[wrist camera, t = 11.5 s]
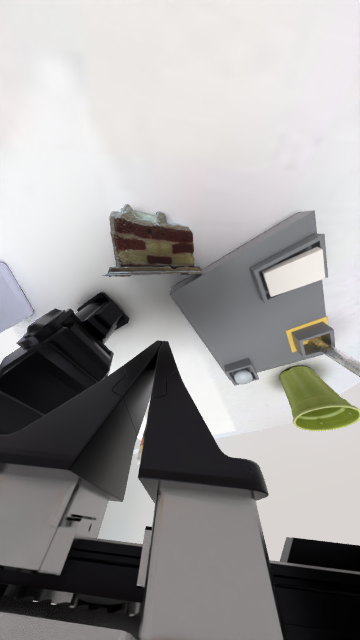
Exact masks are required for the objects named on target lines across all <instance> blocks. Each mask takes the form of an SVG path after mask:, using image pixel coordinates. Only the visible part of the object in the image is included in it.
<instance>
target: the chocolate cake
mask: <svg viewBox="0 0 360 640" xmlns="http://www.w3.org/2000/svg"><path fill="white" fill-rule="evenodd" d="M110 226H111V232H110V233H111V236H112V242H113V247H114V255H115V260H116V267H110V268H109V271H108V274H106V275H103V276H109V277H110V276H116V277H117V276H121V277H124V276H131V275H152V274H179V273H180V274H193V273H197V274H199V273H201V274H202V272H201V271H200V268H199V267H194V258H193V256H192V254H193V251H194V249H193V234H192V232H191V231H190V230H189V228H188V227H187V226H182V225H179V224H172V225H170V224H167V223H166V217H165V214H164V213H161V212H157V213H156V215H155V216H152V215H150V214H146V213H141V212H137V211H133V210H132V207H131V206H130V205H128V204H126V205H125V206H124V208H121V213H120V212H118V211H113V212H111V215H110Z"/></svg>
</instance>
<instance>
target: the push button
mask: <svg viewBox="0 0 360 640" xmlns="http://www.w3.org/2000/svg"><path fill="white" fill-rule="evenodd" d="M233 375H234V379H235V382H236V383H238V384H247V383H250V382H251V381H252V379H253V377H252V375H251V372H250V370H248V369H246V368H244V369H240V370H237V371H234V373H233Z"/></svg>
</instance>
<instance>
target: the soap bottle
mask: <svg viewBox="0 0 360 640" xmlns="http://www.w3.org/2000/svg"><path fill="white" fill-rule="evenodd" d="M33 313H34V312H33V309H32V307H31V305H30V304H29V302H28V300H27V299H26V297H25V295H24V294H23V292H22V290H21V288H20V287H19V285H18V283H17V282H16V280H15V278H14V277H13V275H12V273H11V272H10V270H9V268H8V267H7V266H6V265H5V264H4V263H0V333H1V332H3V331H5V330H6V329H8V328H10V327H12V326H13V325H15V324H17V323H19V322H20V321H22V320H24V319H26V318H28V317H29V316H31V315H32V314H33Z"/></svg>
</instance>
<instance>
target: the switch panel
mask: <svg viewBox="0 0 360 640" xmlns="http://www.w3.org/2000/svg"><path fill="white" fill-rule="evenodd" d="M316 247H319V248H321V249H323V258H324V269H325V278H327V277H328V271H327V259H326V247H325V235H324V234H317V229H316V219H315V210H314V211H305V212H298V213H296V214H295V215H293V216H291V217H290V218H288V219H286V220H285V221H283V222H281V223H280V224H278V225H276V226H274V227H273V228H271V229H269V230H268V231H266V232H264V233H263V234H261V235H259V236H258V237H256V238H254V239H253V240H251V241H249V242H248V243H246V244H244V245H242V246H241V247H239V248H237V249H236V250H234V251H232V252H231V253H229V254H227V255H226V256H224V257H222V258H221V259H219V260H217V261H216V262H214V263H212V264H211V265H209V266H207V267H205V268H204V269H202V270H200V271H201V272H202V274H201V273H199V274H197V273H195V274H194V275H192V276H190V277H189V278H187V279H185V280H184V281H182V282H180V283H179V284H177V285H175V286H174V287H172V288H171V291H170V295H171V297H172V298H173V300H174V301H175V303H176V304H177V305H178V307H179V308H180V310H181V311H182V313H183V314H184V315H185V317H186V318H187V320H188V321H189V322H190V324H191V325H192V327H193V328H194V330H195V331H196V332H197V334H198V335H199V337H200V338H201V340H202V341H203V342H204V344H205V345H206V347H207V348H208V350H209V351H210V352H211V354H212V355H213V357H214V358H215V360H216V361H217V362H218V364H219V365H220V367H221V368H222V369H223V371H224V372H225V374H226V375H227V377H228V378H229V379H230V380H231V381H232V382H233V384H234V385H239V384H238V383H236V382H235V379H234V375H233V373H234V371H237V370H240V369H244V368H246V369H248V370H250V372H251V375H252V377H253V379H252V381H254V380H258V379H259V378H258V375H257V373H258V372H261V371H265V370H268V369H272V368H276V367H279V366H283V365H287V364H290V363H294V362H298V361H301V360H305V359H308V358H312V357H316V356H319V355H323V354H324V353H322V352H321V351H319V350H317V349H316V348H314V347H313V346H311V345H310V344H308V342H309V341H310V339H312V338H316V337H318V338H319V339H321V340H323V341H325V342H326V343H328V344H330V345H331V346H333V347H335V341H334V330H333V329H332V328H331V327H329V326H328V319H327V316H326V313H325V304H324V295H323V285H322V280H319V281H316V282H313V283H310V284H307V285H305V286H302V287H299V288H296V289H293V290H290V291H287V292H284V293H281V294H278V295H275V296H272V297H271V296H270V295H269V292H268V289H267V286H266V283H265V280H264V277H263V274H262V270H265V269H267V268H269V267H272V266H274V265H276V264H279V263H281V262H283V261H286V260H288V259H290V258H292V257H295V256H297V255H299V254H302V253H304V252H306V251H309V250H311V249H313V248H316Z"/></svg>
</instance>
